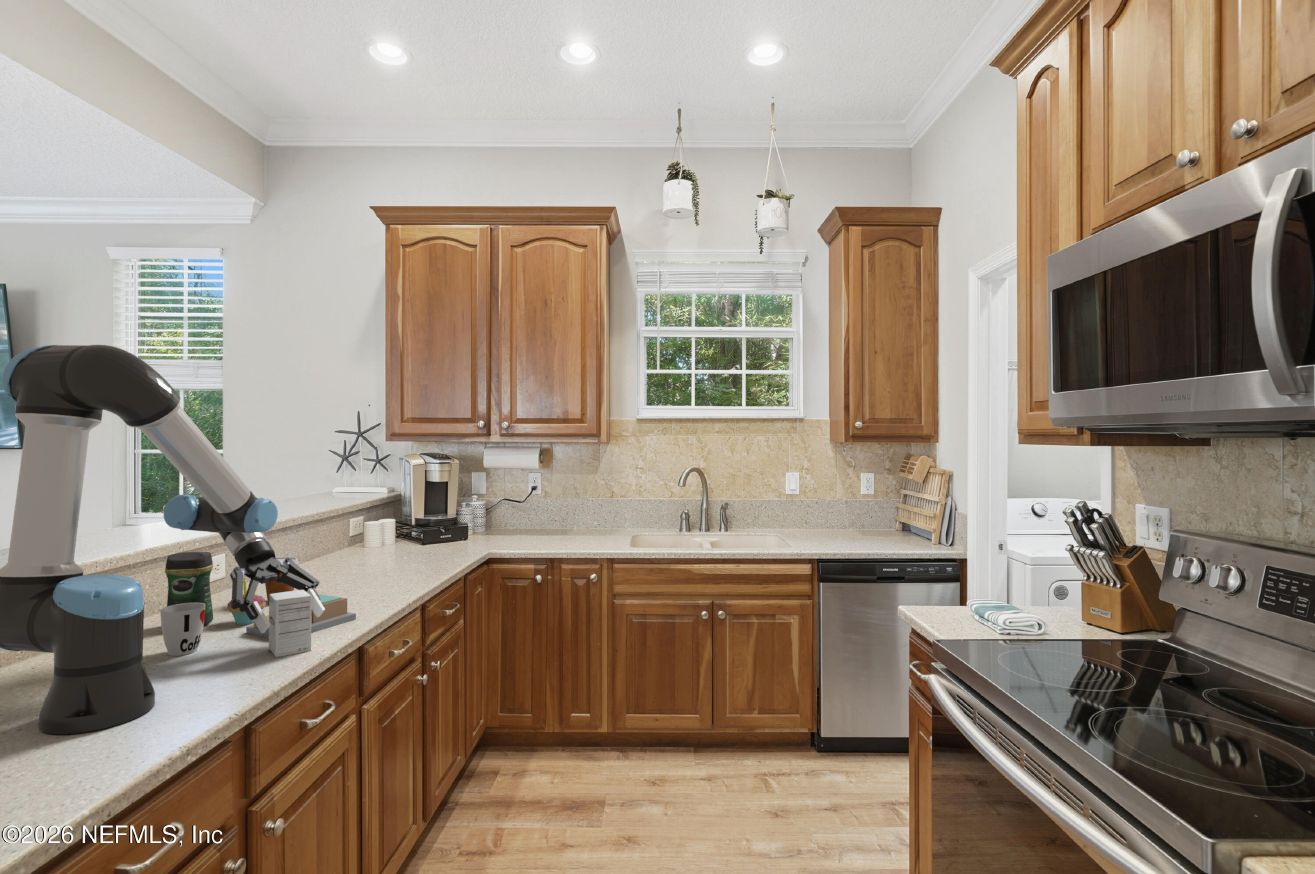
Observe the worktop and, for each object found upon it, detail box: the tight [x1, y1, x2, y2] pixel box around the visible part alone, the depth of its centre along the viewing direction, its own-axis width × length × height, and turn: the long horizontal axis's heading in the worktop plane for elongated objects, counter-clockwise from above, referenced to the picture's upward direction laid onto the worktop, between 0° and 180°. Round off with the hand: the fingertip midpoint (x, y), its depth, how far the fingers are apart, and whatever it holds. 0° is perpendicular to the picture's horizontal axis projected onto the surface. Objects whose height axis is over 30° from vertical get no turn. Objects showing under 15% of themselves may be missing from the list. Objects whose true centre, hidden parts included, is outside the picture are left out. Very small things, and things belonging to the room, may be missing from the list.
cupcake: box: [226, 577, 267, 626], centre depth 168 cm, size 9×8×12 cm
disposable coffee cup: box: [264, 556, 300, 604], centre depth 189 cm, size 10×10×12 cm
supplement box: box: [268, 589, 312, 658], centre depth 147 cm, size 7×7×13 cm
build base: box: [245, 594, 357, 638], centre depth 165 cm, size 20×14×6 cm
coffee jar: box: [164, 551, 214, 626], centre depth 165 cm, size 10×8×19 cm
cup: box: [159, 603, 205, 657], centre depth 145 cm, size 8×8×10 cm
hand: (294, 621), depth 147 cm, fingers open, 13 cm apart
